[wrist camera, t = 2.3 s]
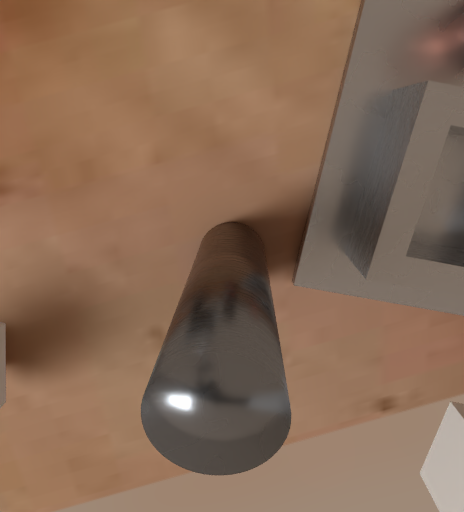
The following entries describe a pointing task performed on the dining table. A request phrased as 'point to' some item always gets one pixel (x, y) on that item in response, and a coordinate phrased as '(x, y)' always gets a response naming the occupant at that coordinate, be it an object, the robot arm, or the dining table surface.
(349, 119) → the metal pin holder base
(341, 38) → the dining table surface
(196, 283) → the pin
